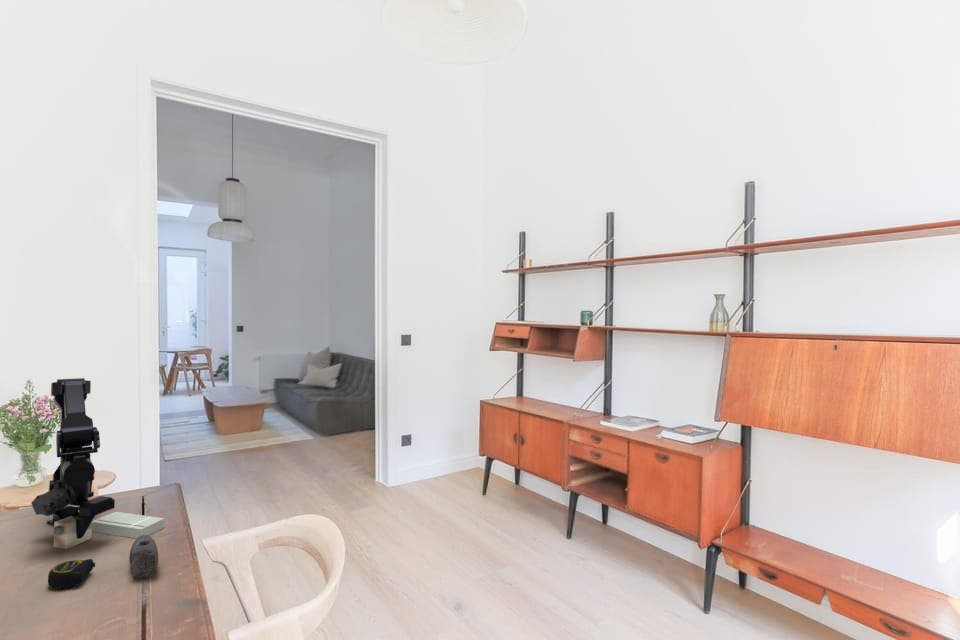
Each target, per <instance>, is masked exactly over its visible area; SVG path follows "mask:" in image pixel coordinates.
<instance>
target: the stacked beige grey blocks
mask: <svg viewBox="0 0 960 640" xmlns="http://www.w3.org/2000/svg"><path fill="white" fill-rule="evenodd" d="M53 526H54V527H53V548H59V549H66V550H67V549H70V548H72V547H74V546H77V545H78V544H81V543H84V542H85V541H88V540H90V539H92V522H91V524H90V525H89V527H88V529H87V531H86V532H85V534H84V536H83V537H82V538H80V539H78V538H77V533H76V519H75V518H73V517H72V516H70V517H67V518H64V519H62V520H59V521H56V522H55V523H54V524H53Z"/></svg>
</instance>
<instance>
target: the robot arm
mask: <svg viewBox="0 0 960 640" xmlns="http://www.w3.org/2000/svg"><path fill="white" fill-rule="evenodd" d="M91 382H92V380H86V379H85V377H82V378H81V377H80V378H78V377H77V378H63V379H62V378H59V379H56V381H53V382H51V384H50V396H51V397H53V403H54V405H55V406H56V407H57V408H58V409H59V411H60V426H59V430H56V433H55V435H56V437H55V438H56V441H55V443H56V446H55V447H56V457H57V458H60V460H59V462H60V463H59V465H58V466H57V468H56V469H55V471H54V473H53V474H52V480H49V483H48V491H47V492H45V493H42V494H39V495H36V497H35V498H34V499H33V501H31V502H30V503H31V506H32V509H33V511H34V513H35V515H36V516H37V515H38V516H39V515H41V516H42V515H43V516H45V517H50V516H52V519H49V520H47V521H46V524H49V525H50V524H51V525H54V523H55V522H56V521H59V520H62V519H64V518H67V517H70V516H72V517H73V518H75V519H76V533H77V538H78V539H80V538H82V537H83V536H84V534H85V532H86V531H87V529H88V527H89V525H90V524H91V522H92V521H94V520H95V518H96V516H97V515H98V516H99V515H100V514H103V513H105V512H108V511H110V510H111V511H112V510H113V509H115V508H116V507H115V506H116V505H115V504H116V502H115V501H116V499H115V498H113V497H111V496H104V495H103V496H102V495H100V496H97V497H94V495H95V494H94V491H92V490H93V489H92V487H93V481H94V480H95V473H96V469H95V466H94V464H93V462H92V460H91V456H92V455H91V454H94V453H98V451H99V449H100V448H101V439H100V430H98V428H97V426H94V422H93V421H94V420H93V419H92V418H91V417H90V416H89V415H87V414H86V411H87V410H86V403H85V402H86V400H87V398H88V395H90V394H91V389H92V387H91ZM92 497H94V498H92ZM90 498H92V499H90Z"/></svg>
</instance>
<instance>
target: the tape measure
mask: <svg viewBox="0 0 960 640" xmlns="http://www.w3.org/2000/svg"><path fill="white" fill-rule="evenodd" d="M95 567H96V562H94V560H93V559H92V558H88V559H84V560H83V559H82V560H81V559H73V560H67V561H64V562H61V563H58V564H57V565H55V566H53V567H52V568H51V569H50V570H49V571H48V575H47V585H48V586H49V587H50V588H52V589H64V588H69V587H70V588H71V587H73V586H78V585H80V584H82V583H83V581H84V579H85V578H86V577H87V576H88V575H89V574H90V573H91V572H92V570H93V568H95Z"/></svg>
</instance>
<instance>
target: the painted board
mask: <svg viewBox="0 0 960 640" xmlns="http://www.w3.org/2000/svg"><path fill="white" fill-rule="evenodd" d="M162 529H165V518H163V517H156V516H150V515H149V516H148V515H144V514H143V515H142V514H137V513H136V514H135V513H128V512H121V511H115V512H112V513H108V514H106V515H105V516H101V517H99V518H97V519H93V520H92V531H91V533H99V534H105V535H112V536H118V537H119V536H120V537H125V538H132V539H137V538H138V537H139V536H142V535H148V536H150V535H152V534H154V533H156V532H158V531H160V530H162Z"/></svg>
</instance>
